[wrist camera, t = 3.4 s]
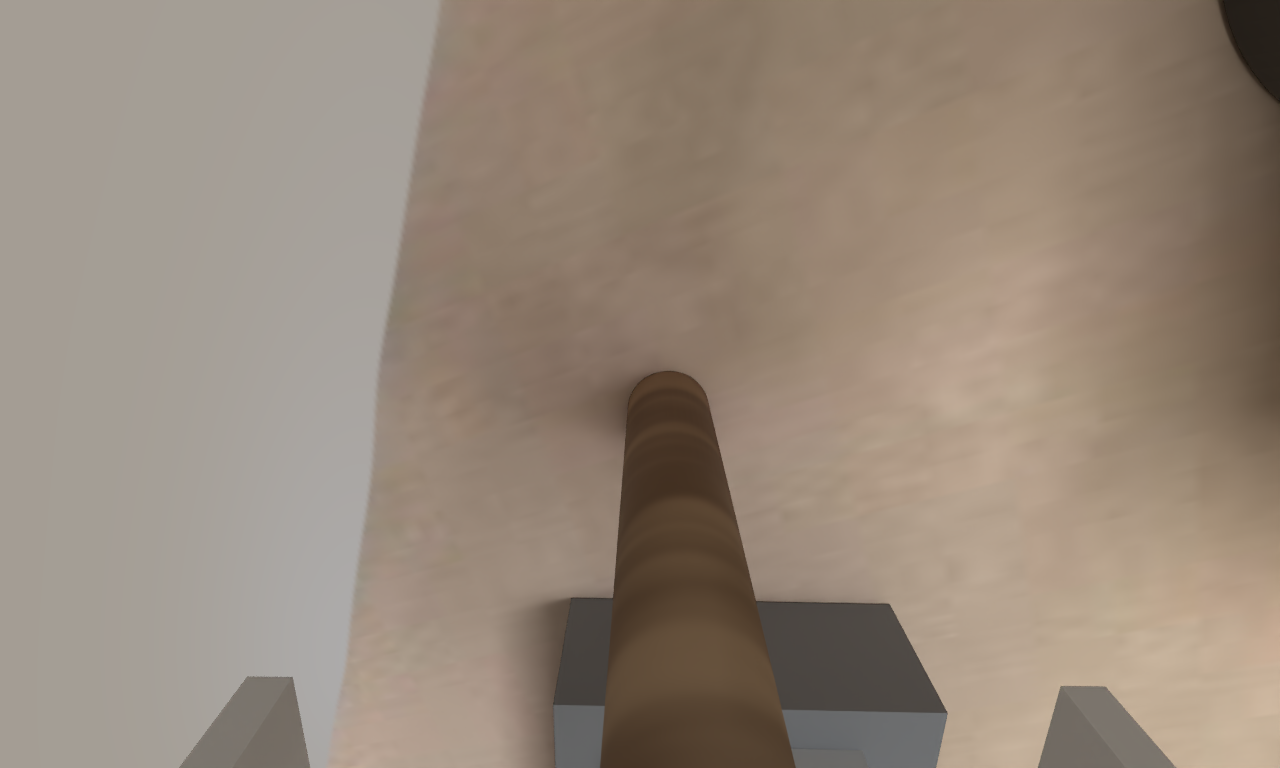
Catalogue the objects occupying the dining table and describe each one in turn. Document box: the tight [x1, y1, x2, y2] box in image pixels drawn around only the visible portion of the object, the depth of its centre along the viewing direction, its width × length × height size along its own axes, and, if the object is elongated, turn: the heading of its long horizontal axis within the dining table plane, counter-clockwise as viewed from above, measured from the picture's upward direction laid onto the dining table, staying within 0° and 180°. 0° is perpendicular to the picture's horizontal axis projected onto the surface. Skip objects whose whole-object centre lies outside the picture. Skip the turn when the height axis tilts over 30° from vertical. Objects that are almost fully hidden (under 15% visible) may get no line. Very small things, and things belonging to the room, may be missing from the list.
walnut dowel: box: [600, 371, 796, 768], centre depth 17 cm, size 3×3×20 cm
